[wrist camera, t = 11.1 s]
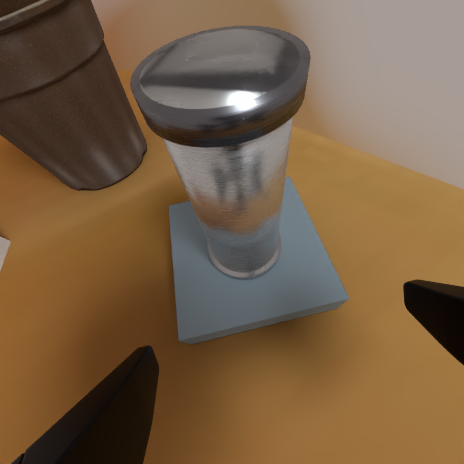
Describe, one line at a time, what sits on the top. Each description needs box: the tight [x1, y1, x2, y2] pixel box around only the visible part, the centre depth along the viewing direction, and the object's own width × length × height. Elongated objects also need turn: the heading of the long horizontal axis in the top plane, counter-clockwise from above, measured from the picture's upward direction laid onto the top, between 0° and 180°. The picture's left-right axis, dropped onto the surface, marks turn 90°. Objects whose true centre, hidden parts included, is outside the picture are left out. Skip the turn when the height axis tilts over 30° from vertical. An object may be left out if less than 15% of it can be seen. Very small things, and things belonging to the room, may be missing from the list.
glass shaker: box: [130, 26, 310, 280], centre depth 13 cm, size 6×6×13 cm
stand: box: [169, 177, 349, 345], centre depth 20 cm, size 12×12×3 cm
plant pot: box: [0, 0, 147, 190], centre depth 24 cm, size 16×16×16 cm
